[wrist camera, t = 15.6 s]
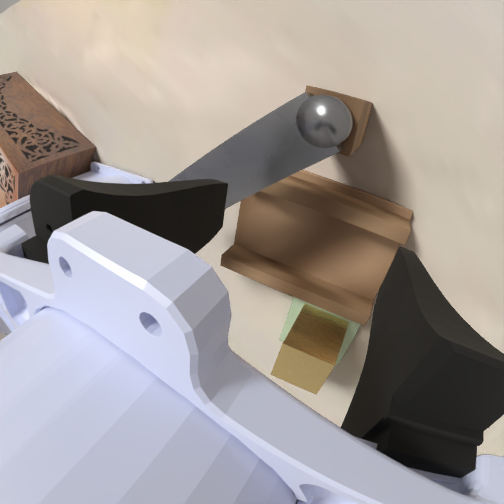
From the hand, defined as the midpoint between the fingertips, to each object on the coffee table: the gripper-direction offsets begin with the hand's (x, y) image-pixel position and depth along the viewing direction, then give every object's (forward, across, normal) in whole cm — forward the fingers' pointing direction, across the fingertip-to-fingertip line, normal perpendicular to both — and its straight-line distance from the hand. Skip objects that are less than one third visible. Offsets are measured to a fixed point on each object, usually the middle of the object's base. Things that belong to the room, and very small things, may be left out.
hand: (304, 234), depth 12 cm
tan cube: (+9, -2, +13) cm, 16 cm away
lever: (+4, +5, 0) cm, 7 cm away
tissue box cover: (+10, +40, +5) cm, 42 cm away
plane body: (+10, +1, +2) cm, 10 cm away
